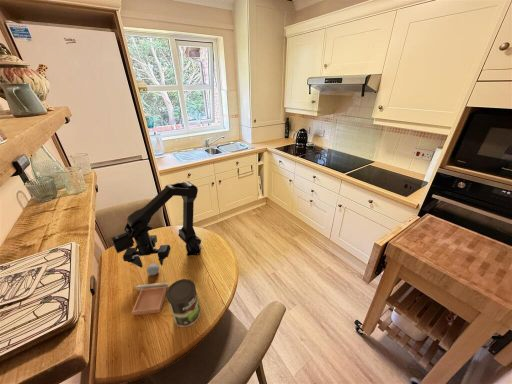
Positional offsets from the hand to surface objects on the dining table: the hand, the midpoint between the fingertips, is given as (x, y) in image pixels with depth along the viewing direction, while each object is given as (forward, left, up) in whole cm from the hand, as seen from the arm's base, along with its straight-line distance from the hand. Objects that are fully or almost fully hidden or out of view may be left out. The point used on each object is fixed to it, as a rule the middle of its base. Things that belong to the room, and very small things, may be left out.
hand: (152, 265), depth 99 cm
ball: (0, 0, -5) cm, 5 cm away
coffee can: (-19, +22, -5) cm, 30 cm away
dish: (-3, +15, -5) cm, 16 cm away
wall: (-2, +9, -5) cm, 10 cm away
